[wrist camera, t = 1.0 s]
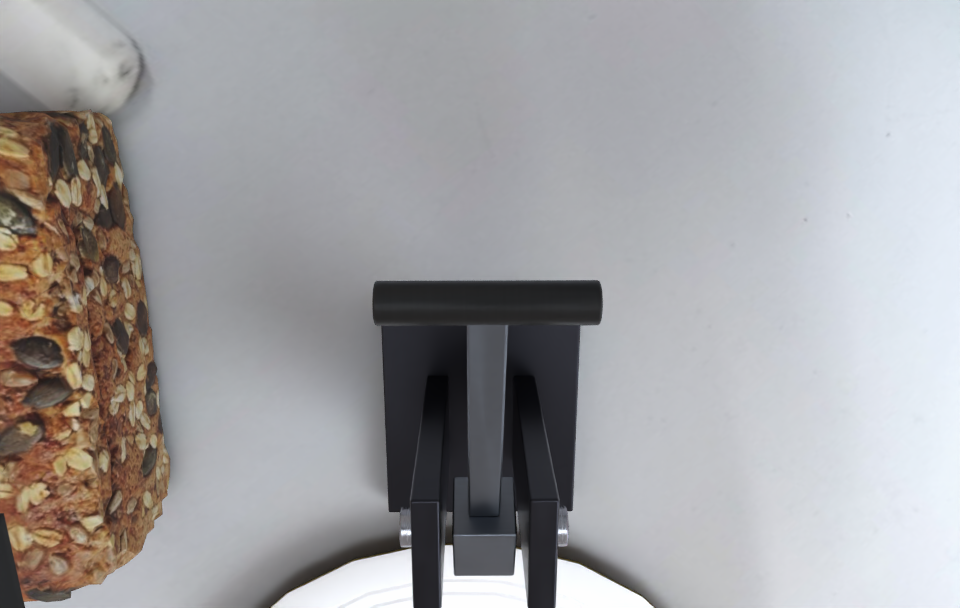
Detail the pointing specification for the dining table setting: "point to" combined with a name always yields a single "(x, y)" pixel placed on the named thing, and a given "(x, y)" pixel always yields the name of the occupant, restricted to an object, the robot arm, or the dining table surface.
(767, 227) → the dining table surface
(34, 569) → the bread
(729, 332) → the dining table surface
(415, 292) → the lever
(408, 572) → the plate
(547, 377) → the bracket
